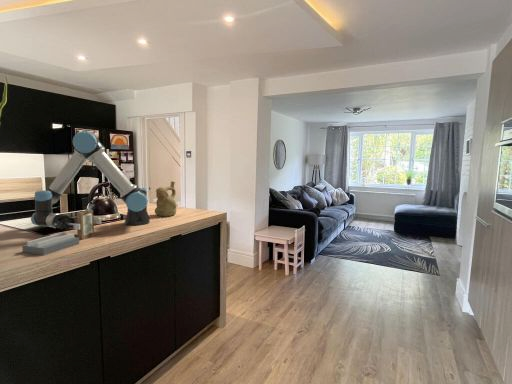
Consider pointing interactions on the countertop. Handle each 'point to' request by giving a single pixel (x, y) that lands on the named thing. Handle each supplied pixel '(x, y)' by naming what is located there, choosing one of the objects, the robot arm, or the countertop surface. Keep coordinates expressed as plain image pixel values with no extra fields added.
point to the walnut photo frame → (85, 224)
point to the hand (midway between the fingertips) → (90, 224)
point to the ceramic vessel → (165, 201)
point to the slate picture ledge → (50, 244)
